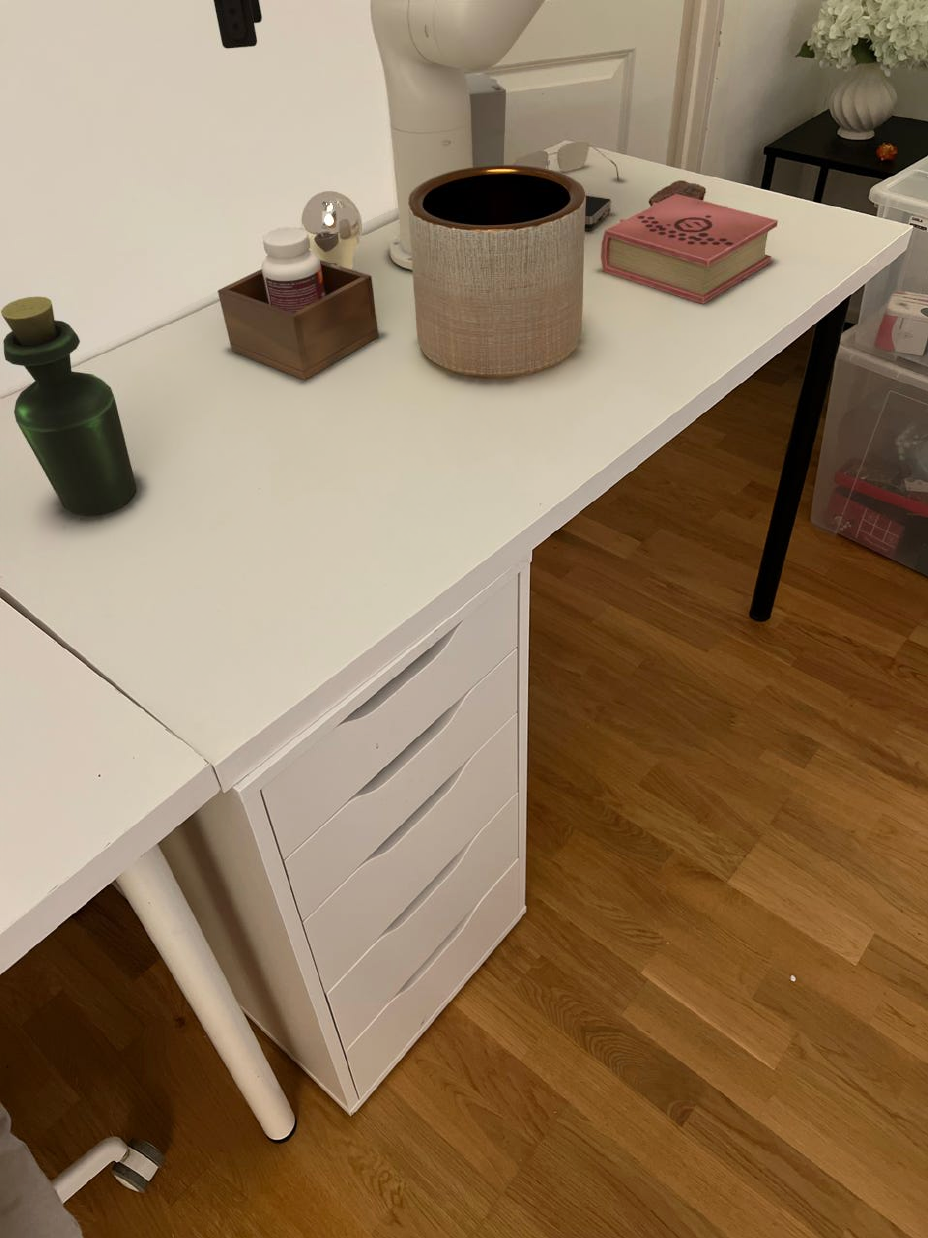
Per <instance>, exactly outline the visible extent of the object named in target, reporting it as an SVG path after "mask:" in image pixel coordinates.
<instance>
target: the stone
mask: <svg viewBox="0 0 928 1238" xmlns="http://www.w3.org/2000/svg"><path fill="white" fill-rule="evenodd" d="M706 193H707V189H706V187H704V186H703V185H700V184H698V183H693V182H688V181H686V180H681V179H679V180H676V181H673V182H671V183H670V184H669V185H667V186H665V187H663V188H662V189H660V190H658V191H656V193H654V194H653V195H652V196H650V198H649V200H648V204H649V207H651V206H652V204H653V203H659V202H661V201H663V200H665V199H667V198H669V197H671V196H673V195H675V194H679V195H682V196H686V197H690V198H694V199H698V200H702V201H704V199H705V195H706Z"/></svg>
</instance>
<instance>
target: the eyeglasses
mask: <svg viewBox="0 0 928 1238" xmlns="http://www.w3.org/2000/svg"><path fill="white" fill-rule="evenodd" d="M591 147H592V148H593V149H594V150H595V151H597V152H598V153H599V154H601V155H602V156H603V157H604V158H606V159H607V160H608V161H610V163H611V164H613V166H614V167H615V170H616V177H617V181H620V177H619V171H618V167H617V164H616V163H615V162H614V161H613V160H611V159H610V158H609V157H607V156H606V155H605V154H604V153H603V152H601V151H600V150H599V149H598V148H597V147H595V145H593V144H590V142H589V141H587V140H579V141H573V142H569V143H566V144H563V145H562V146H560V147H559V148H558V149H557V151H555V152H551V153H549V152H548V151H546V150H536V151H532V152H529V153H526V154H523V155H521V156H519V157H517V159H516V160H515V162H513V163H512V164H511V165H521V166H532V167H539V168H544V169H549V167H550V164H551V159H549V156H551V155H555V154H556V161H557V166H558V169H559V170H560V171H561V172H570V171H571V172H572V171H575V170H578V169H580V168H582V167H583V166H584V165H585V164H586V161H587V158H588V154H589V151H590V148H591Z"/></svg>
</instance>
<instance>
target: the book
mask: <svg viewBox="0 0 928 1238" xmlns="http://www.w3.org/2000/svg"><path fill="white" fill-rule="evenodd" d="M619 220H620V221H619V222H618V223H616V224H614V225H612V226H610V227H608V228H606V229H604V233H603V235H602V236H603V237H602V240H601V243H600V244H601V245H600V246H601V247H600V261H601V268H602V272H605V273H608V274H610V275H614V276H616V277H620V278H623V279H625V280H629V281H632V282H635V283H637V284H641V285H643V286H647V287H650V288H652V289H655V290H659V291H662V292H665V293H668V294H671V295H675V296H678V297H681V298H684V299H686V300H690V301H692V302H696V303H699V304H701V305H704V304H706V303H707V302H709V301H710V300H712V299H714V298H715V297H717V296H718V295H720V294H722V293H724V291H727V290H728V289H730V288H731V287H733V286H734V285H736V284H738V283H739V282H741V281H744V279H746V278H747V277H749V276H750V275H752V274H754V273H756V272H758V271H759V270H760V269H762V268H763V267H765V266H767V265H769V264H770V263H771V262H772V257H773V256H772V255H768V254H766V245H767V240H768V234H769V232H770V231H772V230H773V229H775V228H778V223H779V221H778V219H774V218H771V217H767V216H763V215H759V214H755V213H751V212H748V211H744V210H739V209H736V208H732V207H728V206H725V205H720V204H716V203H713V202H710V201H706V200H703V201H702V200H698V199H694V198H690V197H686V196H682V195H679V194H675V195H673V196H671V197H669V198H667V199H665V200H663V201H661V202H659V203H653V204H652V206H649V207H647V208H646V209H643V210H641V211H640V212H637V213H636V214H633V215H631V216H630V217H627V218H626V219H625V218H621V219H619Z"/></svg>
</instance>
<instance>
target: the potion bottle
mask: <svg viewBox="0 0 928 1238" xmlns="http://www.w3.org/2000/svg"><path fill="white" fill-rule="evenodd" d="M0 313H1V316H2V318H3V319H4V321H5V322H6V324H7V325H8V327H9V328H10V330H11V331H10V332H8V333H7V334H6V335H5V337H4V339H3V340H2V341H3V354H4V359H5V361H7V362H8V363H10V364H11V365H16V366H22V367H24V368H25V370H26V371H27V372H28V374H29V375H30V376H31V378H32V379H33V380H34V381H33V382H32V383H30V384H29V385H28V386H27V387H26V388H25V389H23V390H22V391H20V393H19V394H18V397H17V398H16V400H15V404H14V409H13V410H14V412H13V414H14V419H15V422H16V424H17V426H18V427H19V429H20V431H21V433H22V434H23V436H24V438H25V440H26V441H27V444H28V445H29V447H30V449H31V450H32V452H33V454H34V456H35V458H36V460H37V461H38V463H39V465H40V467H41V469H42V470H43V472H44V474H45V476H46V477H47V479H48V481H49V483H50V485H51V486H52V488H53V490H54V492H55V494H56V495H57V497H58V499H59V501H60V503H61V504H62V506H63V508H65V509H66V510H67V511H69V512H70V513H72V514H75V515H80V516H84V517H91V516H101V515H104V514H108V513H111V512H114V511H115V510H117V509H119V508H121V507H123V506H124V505H126V504H127V503H128V501H130V499H131V498H133V496H134V493H135V491H136V488H137V483H136V480H135V476H134V472H133V468H132V463H131V459H130V456H129V451H128V448H127V443H126V439H125V435H124V432H123V431H124V430H123V426H122V422H121V419H120V414H119V411H118V406H117V402H116V399H115V395H114V392H113V389H112V387H111V386H110V385H109V384H107V382H105V381H104V379H102V378H100V377H98V376H96V375H94V374H93V373H86V372H80V371H72V362H71V361H72V360H71V354H72V353H73V352H74V351H75V350H77V349H78V347H79V346H80V343H81V339H80V337H79V335H78V334H77V333H76V331H75V330H74V328H73V327H71V325H70V324H69V323H67V322H65V321H62V320H55V314H54V313H55V312H54V308H53V303H52V300H51V299H50V298H49V297H45V296H28V297H22V298H18V299H16V300H13V301H11V302H9V303H7V304H6V305H4V306H3V307H2V309H1V310H0Z"/></svg>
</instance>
